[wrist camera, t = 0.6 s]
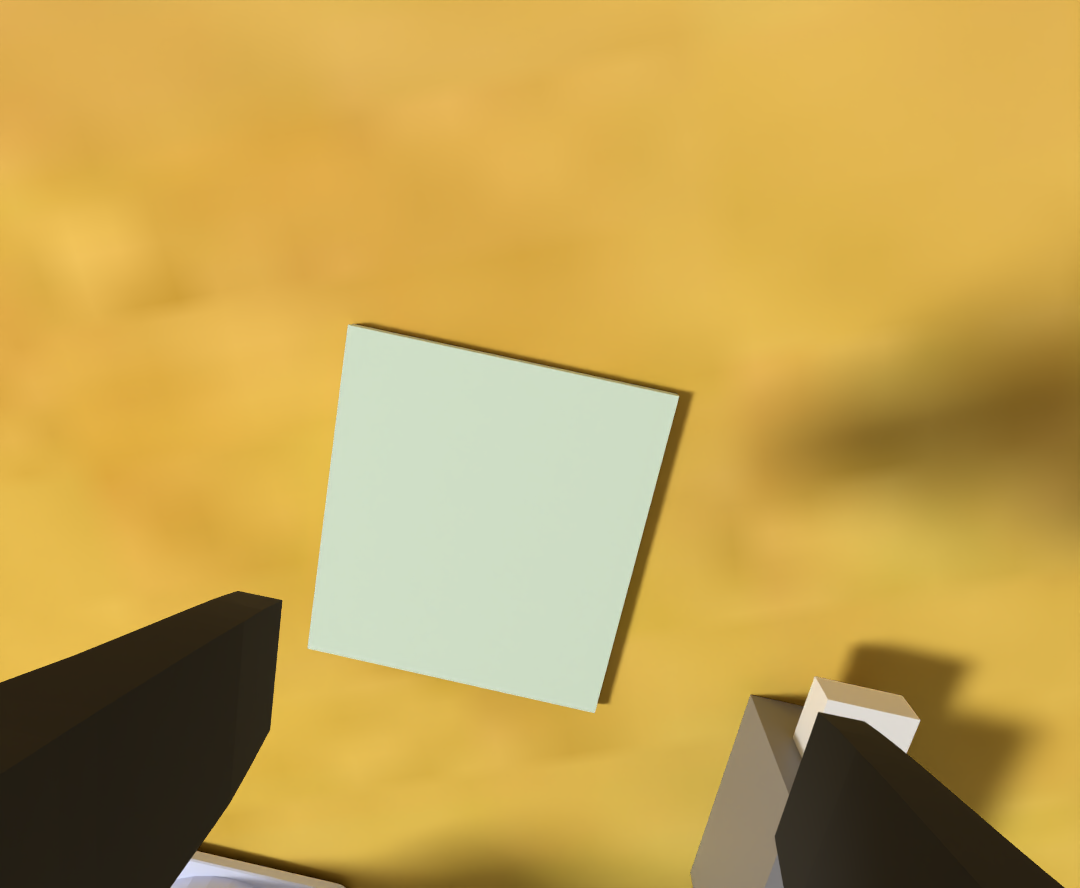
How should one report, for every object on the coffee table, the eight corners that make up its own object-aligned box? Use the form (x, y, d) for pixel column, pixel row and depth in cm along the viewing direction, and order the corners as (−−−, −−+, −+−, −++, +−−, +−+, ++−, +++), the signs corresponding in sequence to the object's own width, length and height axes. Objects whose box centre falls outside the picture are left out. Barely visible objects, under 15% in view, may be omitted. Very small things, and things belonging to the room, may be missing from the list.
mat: (594, 704, 20) (594, 713, 20) (312, 641, 20) (307, 648, 20) (677, 393, 18) (679, 396, 17) (353, 323, 18) (348, 325, 17)
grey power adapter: (781, 963, 22) (827, 1129, 18) (667, 936, 22) (686, 1095, 18) (901, 664, 19) (992, 777, 15) (768, 635, 19) (820, 739, 15)
